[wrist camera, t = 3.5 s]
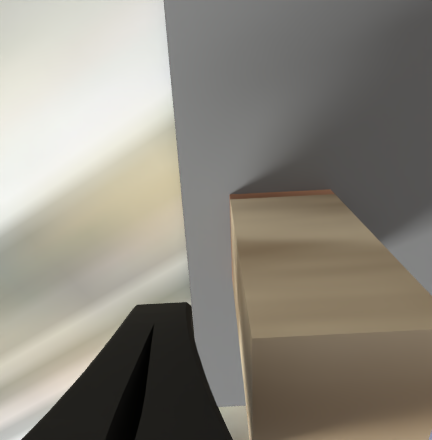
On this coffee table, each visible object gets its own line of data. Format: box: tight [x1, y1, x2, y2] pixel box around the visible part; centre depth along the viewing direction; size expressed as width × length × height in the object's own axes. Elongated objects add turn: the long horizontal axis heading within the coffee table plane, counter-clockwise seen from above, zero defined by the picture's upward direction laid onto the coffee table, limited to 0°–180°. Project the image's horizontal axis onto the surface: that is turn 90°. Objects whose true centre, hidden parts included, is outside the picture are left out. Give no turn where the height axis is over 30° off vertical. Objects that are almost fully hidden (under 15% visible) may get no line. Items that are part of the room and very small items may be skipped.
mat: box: [164, 0, 432, 407], centre depth 13 cm, size 20×18×1 cm
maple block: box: [229, 189, 432, 440], centre depth 10 cm, size 4×4×7 cm
